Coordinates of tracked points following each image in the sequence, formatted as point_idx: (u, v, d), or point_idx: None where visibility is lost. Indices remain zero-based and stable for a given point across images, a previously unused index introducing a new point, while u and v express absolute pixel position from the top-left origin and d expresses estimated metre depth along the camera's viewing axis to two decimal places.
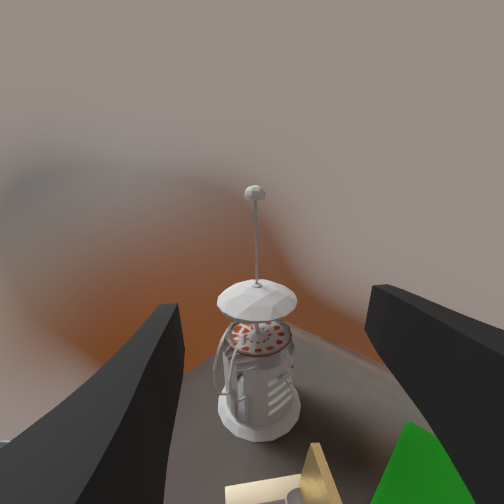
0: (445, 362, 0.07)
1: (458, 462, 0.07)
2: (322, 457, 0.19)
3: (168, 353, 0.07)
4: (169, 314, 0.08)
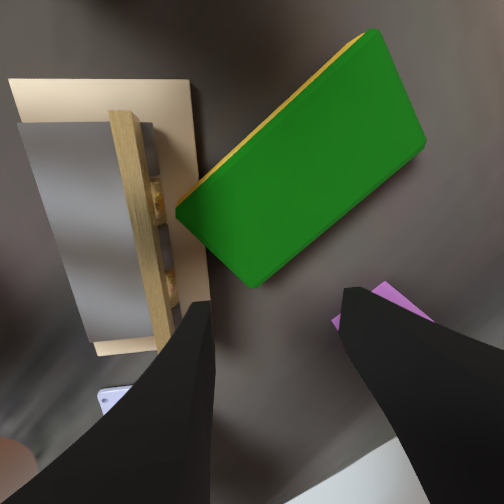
0: (406, 367, 0.07)
1: (419, 469, 0.07)
2: (130, 144, 0.09)
3: (208, 349, 0.08)
4: (206, 311, 0.08)
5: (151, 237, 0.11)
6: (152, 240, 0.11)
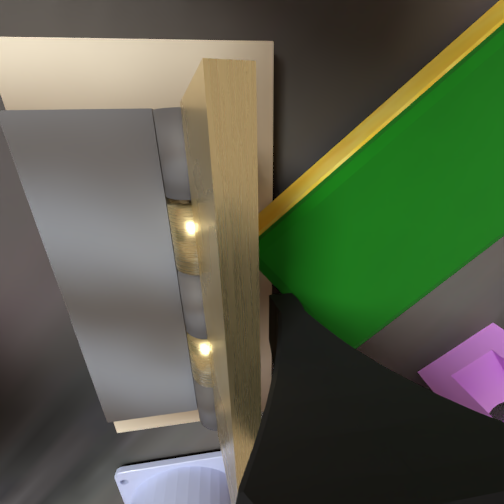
0: None
1: None
2: (245, 146, 0.04)
3: None
4: (297, 302, 0.08)
5: (257, 334, 0.05)
6: (257, 338, 0.05)
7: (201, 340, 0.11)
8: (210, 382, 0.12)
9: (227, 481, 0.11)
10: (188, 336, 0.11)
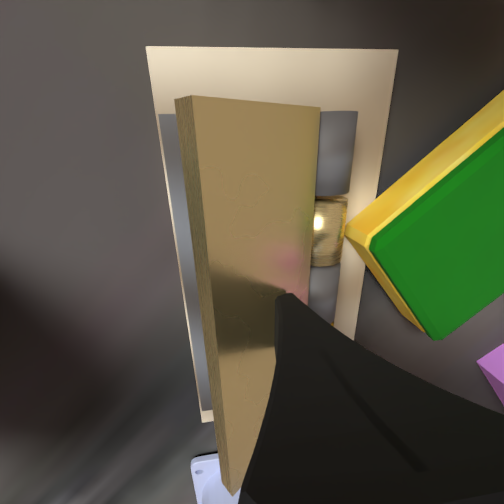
0: None
1: None
2: (192, 151, 0.06)
3: None
4: (298, 302, 0.08)
5: (210, 292, 0.07)
6: (211, 296, 0.07)
7: None
8: None
9: None
10: None
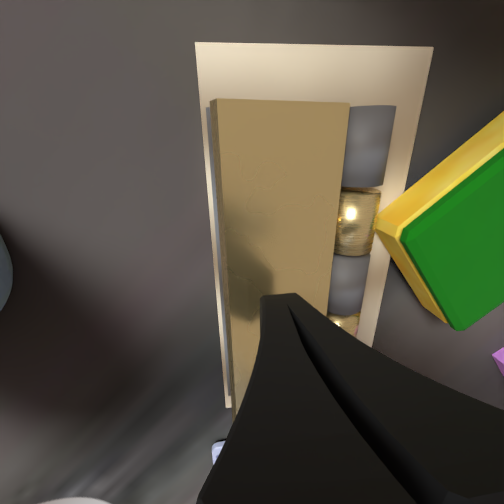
0: None
1: None
2: (217, 140, 0.08)
3: None
4: (283, 303, 0.08)
5: (225, 253, 0.09)
6: (226, 257, 0.09)
7: None
8: None
9: None
10: None
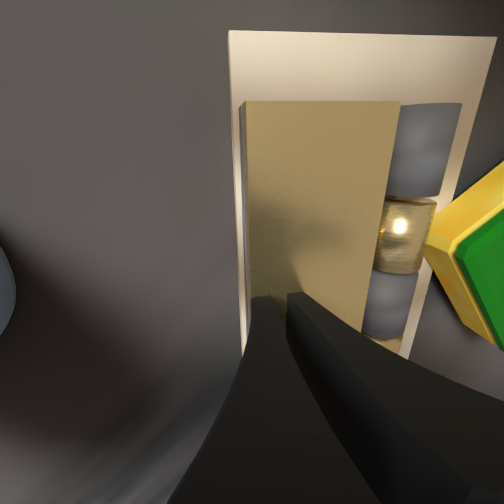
0: (327, 377, 0.07)
1: None
2: (245, 144, 0.07)
3: None
4: (273, 304, 0.08)
5: (249, 258, 0.09)
6: (250, 262, 0.09)
7: None
8: None
9: None
10: None
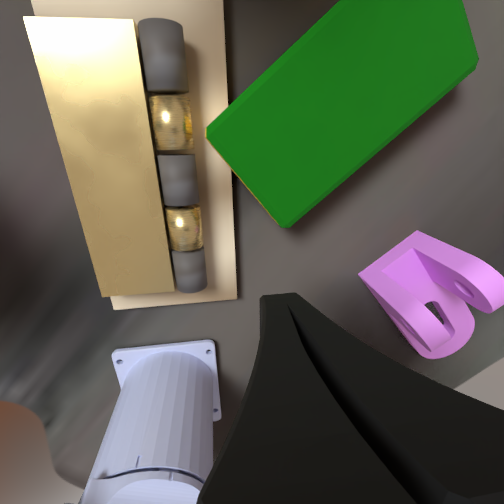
0: None
1: None
2: (34, 47, 0.12)
3: None
4: (283, 303, 0.08)
5: None
6: (57, 135, 0.13)
7: None
8: None
9: None
10: None
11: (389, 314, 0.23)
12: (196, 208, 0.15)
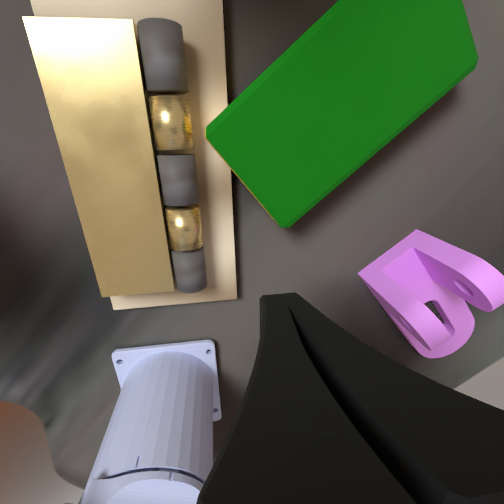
0: None
1: None
2: (33, 47, 0.12)
3: None
4: (283, 303, 0.08)
5: (55, 132, 0.13)
6: (56, 135, 0.13)
7: None
8: None
9: None
10: None
11: (389, 313, 0.22)
12: (196, 208, 0.15)
